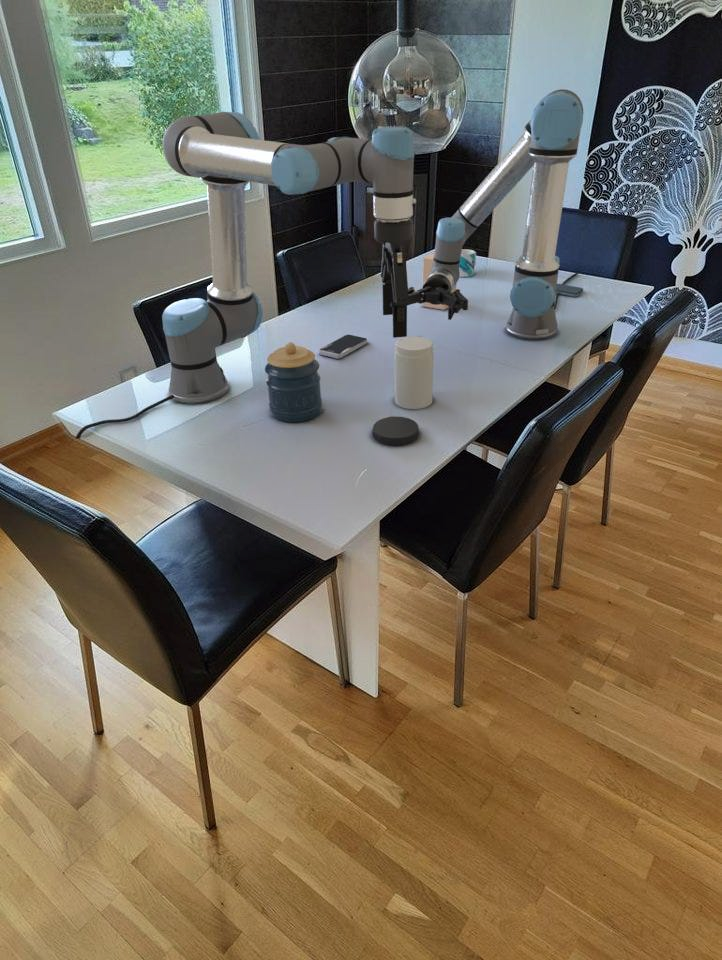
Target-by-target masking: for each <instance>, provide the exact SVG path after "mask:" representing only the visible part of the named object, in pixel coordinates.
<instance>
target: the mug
mask: <svg viewBox="0 0 722 960" xmlns="http://www.w3.org/2000/svg"><path fill="white" fill-rule="evenodd" d="M476 264H477V251H475V250H473V249H467V248H464V249H463V248H462V251H461V257H460V265H459V269H460V275H459V278H465V277H466V278H467V277H472V276H474V274H475V266H476Z"/></svg>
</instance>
